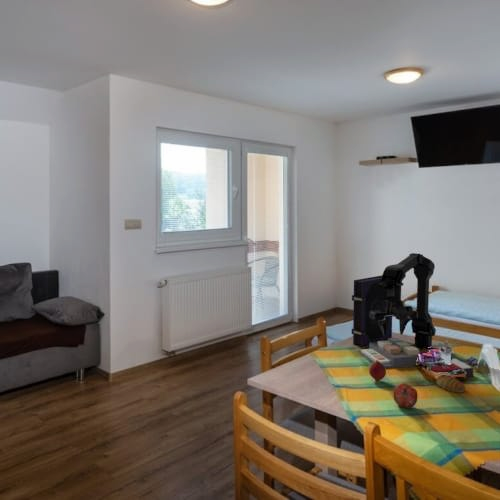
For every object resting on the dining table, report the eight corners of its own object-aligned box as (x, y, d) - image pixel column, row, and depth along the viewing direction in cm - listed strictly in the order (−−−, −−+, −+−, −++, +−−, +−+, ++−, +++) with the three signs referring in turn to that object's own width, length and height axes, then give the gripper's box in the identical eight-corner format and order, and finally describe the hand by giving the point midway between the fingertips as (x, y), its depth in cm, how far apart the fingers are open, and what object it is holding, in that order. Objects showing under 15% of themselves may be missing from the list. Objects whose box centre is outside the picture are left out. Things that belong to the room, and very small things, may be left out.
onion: (386, 379, 170) (387, 358, 169) (384, 385, 165) (384, 363, 164) (370, 377, 172) (371, 356, 172) (367, 382, 167) (368, 361, 166)
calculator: (420, 361, 180) (455, 357, 182) (420, 372, 180) (456, 367, 183) (436, 371, 169) (473, 366, 171) (436, 382, 170) (473, 377, 172)
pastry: (469, 391, 160) (470, 380, 159) (458, 395, 156) (458, 384, 156) (445, 382, 167) (446, 372, 167) (433, 386, 164) (434, 376, 163)
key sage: (404, 348, 197) (404, 341, 196) (410, 351, 192) (410, 344, 192) (395, 349, 196) (395, 342, 196) (400, 352, 192) (400, 345, 191)
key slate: (397, 344, 203) (397, 337, 203) (402, 347, 199) (402, 340, 198) (387, 345, 202) (388, 338, 202) (392, 348, 198) (393, 341, 198)
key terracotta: (394, 352, 192) (394, 345, 192) (400, 355, 188) (400, 348, 188) (384, 352, 192) (385, 345, 191) (390, 356, 187) (390, 348, 187)
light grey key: (387, 347, 199) (387, 340, 198) (392, 350, 194) (392, 343, 194) (377, 348, 198) (377, 341, 198) (382, 351, 193) (382, 344, 193)
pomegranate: (393, 407, 152) (386, 397, 145) (400, 386, 155) (394, 376, 148) (416, 415, 148) (410, 406, 141) (422, 393, 150) (417, 383, 143)
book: (381, 334, 229) (382, 274, 226) (392, 337, 224) (393, 276, 221) (351, 344, 214) (352, 280, 211) (362, 347, 209) (363, 281, 206)
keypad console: (397, 349, 205) (397, 340, 205) (424, 365, 185) (424, 355, 185) (357, 352, 202) (357, 343, 201) (380, 368, 181) (380, 359, 181)
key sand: (412, 353, 190) (413, 346, 190) (418, 356, 186) (419, 349, 186) (403, 354, 190) (403, 346, 189) (408, 357, 185) (409, 350, 185)
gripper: (381, 302, 178) (381, 342, 179) (425, 300, 181) (424, 339, 183) (368, 297, 189) (368, 334, 190) (410, 294, 192) (409, 331, 194)
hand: (392, 335), depth 189 cm, fingers open, 7 cm apart
